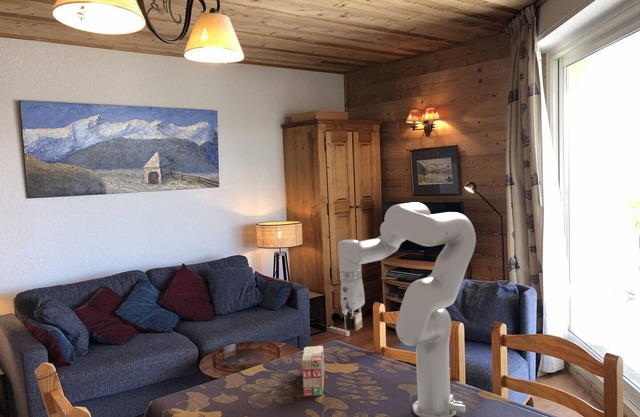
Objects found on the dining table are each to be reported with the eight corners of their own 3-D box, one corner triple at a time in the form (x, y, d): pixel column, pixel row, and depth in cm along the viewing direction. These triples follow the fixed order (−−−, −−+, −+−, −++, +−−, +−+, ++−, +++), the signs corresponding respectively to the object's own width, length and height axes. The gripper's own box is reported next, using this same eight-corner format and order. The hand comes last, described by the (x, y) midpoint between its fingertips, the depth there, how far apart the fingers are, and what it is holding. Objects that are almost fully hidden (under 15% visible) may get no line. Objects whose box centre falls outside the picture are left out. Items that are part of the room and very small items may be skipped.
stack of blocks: (307, 371, 185) (306, 338, 185) (324, 370, 185) (323, 337, 184) (303, 396, 164) (301, 359, 163) (322, 396, 164) (320, 359, 163)
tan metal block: (362, 326, 176) (361, 312, 176) (356, 330, 172) (356, 316, 172) (350, 325, 178) (349, 311, 178) (345, 329, 174) (344, 315, 174)
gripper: (349, 280, 165) (353, 335, 166) (370, 271, 180) (373, 321, 181) (329, 279, 169) (332, 333, 170) (351, 270, 183) (354, 319, 184)
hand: (353, 326), depth 175 cm, fingers closed on tan metal block, 4 cm apart
